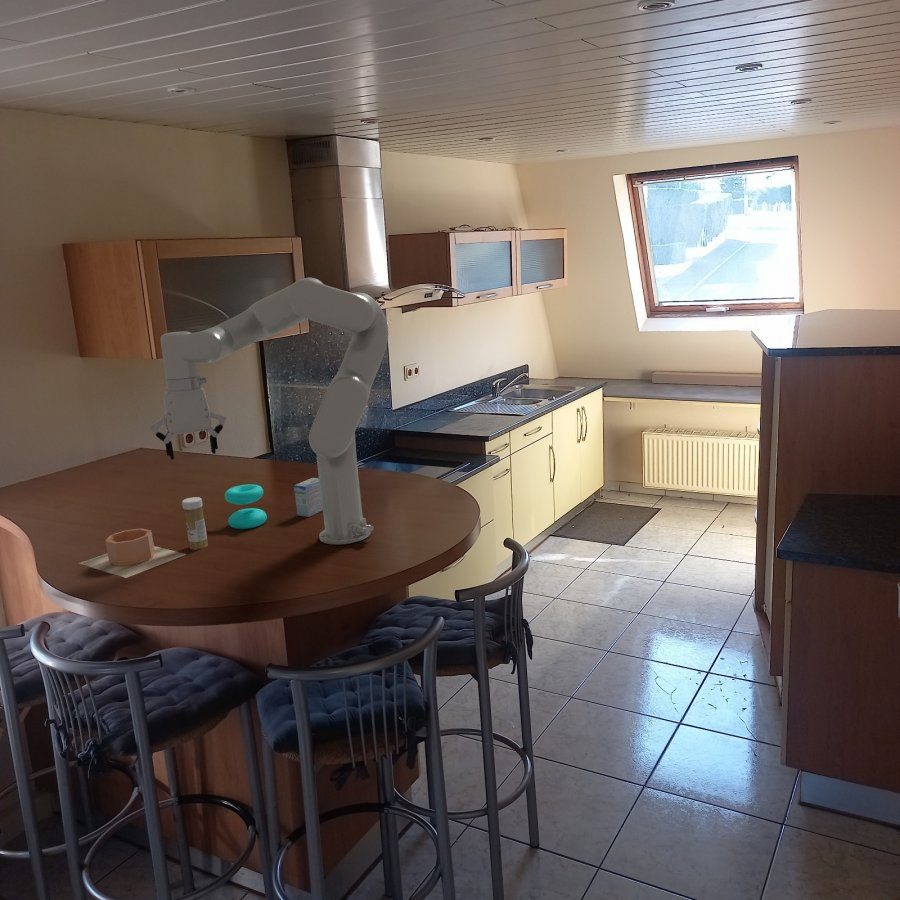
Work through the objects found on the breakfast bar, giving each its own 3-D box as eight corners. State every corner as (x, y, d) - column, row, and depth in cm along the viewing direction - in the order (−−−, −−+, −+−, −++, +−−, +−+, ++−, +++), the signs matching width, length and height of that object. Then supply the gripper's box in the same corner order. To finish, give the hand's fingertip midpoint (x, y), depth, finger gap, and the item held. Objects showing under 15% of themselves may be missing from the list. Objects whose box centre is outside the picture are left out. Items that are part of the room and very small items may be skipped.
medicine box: (315, 507, 232) (312, 477, 230) (328, 508, 229) (324, 478, 227) (297, 515, 225) (293, 485, 223) (309, 517, 223) (305, 486, 221)
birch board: (187, 560, 197) (186, 554, 197) (127, 584, 185) (126, 577, 185) (139, 547, 209) (138, 541, 209) (79, 569, 197) (78, 563, 197)
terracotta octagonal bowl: (162, 555, 198) (158, 532, 196) (125, 569, 190) (121, 545, 189) (139, 549, 203) (135, 526, 202) (102, 562, 196) (98, 539, 195)
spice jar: (186, 553, 202) (178, 500, 199) (202, 547, 205) (194, 495, 202) (197, 556, 199) (188, 503, 196) (213, 550, 202) (205, 498, 199)
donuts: (215, 491, 218) (244, 481, 226) (221, 527, 220) (249, 516, 228) (241, 495, 212) (270, 485, 220) (247, 532, 214) (275, 520, 222)
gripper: (219, 378, 201) (227, 447, 205) (144, 387, 195) (154, 457, 199) (223, 382, 195) (231, 453, 199) (145, 391, 189) (155, 464, 193)
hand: (193, 455), depth 199 cm, fingers open, 9 cm apart
